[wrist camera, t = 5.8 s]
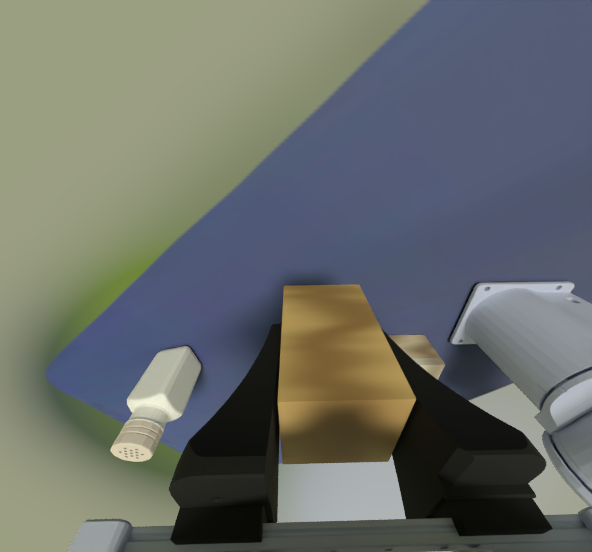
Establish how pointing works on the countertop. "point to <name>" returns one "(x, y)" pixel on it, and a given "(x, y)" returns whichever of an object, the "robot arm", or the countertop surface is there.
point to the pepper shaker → (157, 402)
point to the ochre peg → (337, 379)
